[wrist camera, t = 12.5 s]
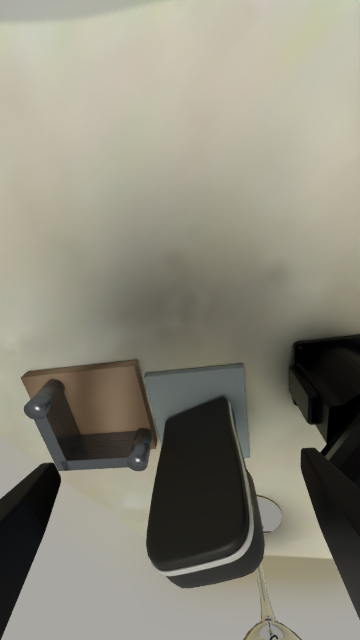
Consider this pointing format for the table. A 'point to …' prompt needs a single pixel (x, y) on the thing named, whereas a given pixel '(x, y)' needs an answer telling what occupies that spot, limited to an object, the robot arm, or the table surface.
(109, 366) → the rail board
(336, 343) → the robot arm
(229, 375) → the end mat
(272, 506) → the wineglass
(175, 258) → the table surface
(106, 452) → the bent rail
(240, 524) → the battery charger
